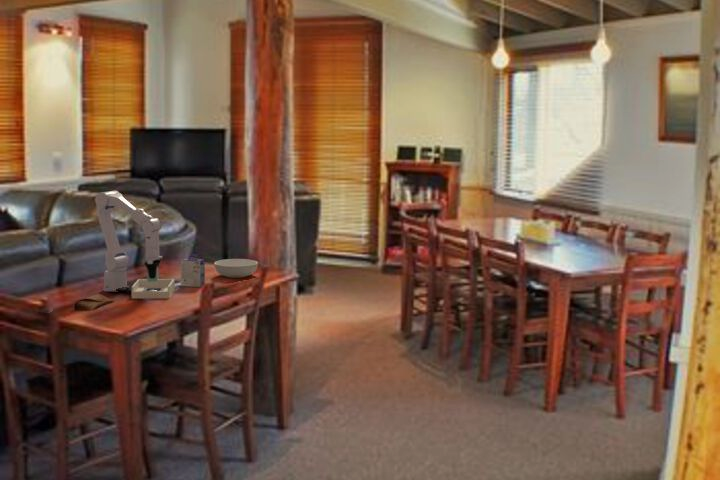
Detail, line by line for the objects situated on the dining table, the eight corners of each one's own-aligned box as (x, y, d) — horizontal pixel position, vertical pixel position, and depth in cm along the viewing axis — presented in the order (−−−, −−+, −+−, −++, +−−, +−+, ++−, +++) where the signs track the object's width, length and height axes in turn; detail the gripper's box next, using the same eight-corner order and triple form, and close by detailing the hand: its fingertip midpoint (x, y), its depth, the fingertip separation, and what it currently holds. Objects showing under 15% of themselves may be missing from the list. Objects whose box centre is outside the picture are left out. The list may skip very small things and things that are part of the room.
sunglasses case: (93, 310, 349) (84, 296, 348) (79, 318, 351) (71, 304, 350) (115, 300, 366) (107, 287, 366) (103, 308, 368) (95, 294, 368)
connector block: (147, 281, 376) (147, 268, 375) (149, 279, 380) (148, 266, 379) (157, 281, 376) (156, 268, 375) (158, 279, 380) (158, 266, 379)
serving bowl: (265, 277, 416) (265, 263, 415) (225, 282, 404) (225, 268, 403) (246, 270, 433) (245, 256, 432) (207, 274, 421) (206, 260, 420)
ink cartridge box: (205, 285, 398) (205, 254, 396) (201, 287, 393) (200, 256, 391) (185, 283, 400) (184, 253, 398) (180, 286, 395) (179, 255, 393)
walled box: (131, 298, 371) (131, 287, 370) (138, 290, 386) (138, 279, 386) (169, 298, 372) (169, 286, 371) (174, 290, 387) (174, 279, 387)
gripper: (159, 249, 369) (160, 280, 371) (164, 243, 383) (165, 273, 385) (142, 249, 368) (143, 280, 370) (148, 243, 382) (149, 273, 385)
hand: (153, 277), depth 378 cm, fingers closed on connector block, 4 cm apart
